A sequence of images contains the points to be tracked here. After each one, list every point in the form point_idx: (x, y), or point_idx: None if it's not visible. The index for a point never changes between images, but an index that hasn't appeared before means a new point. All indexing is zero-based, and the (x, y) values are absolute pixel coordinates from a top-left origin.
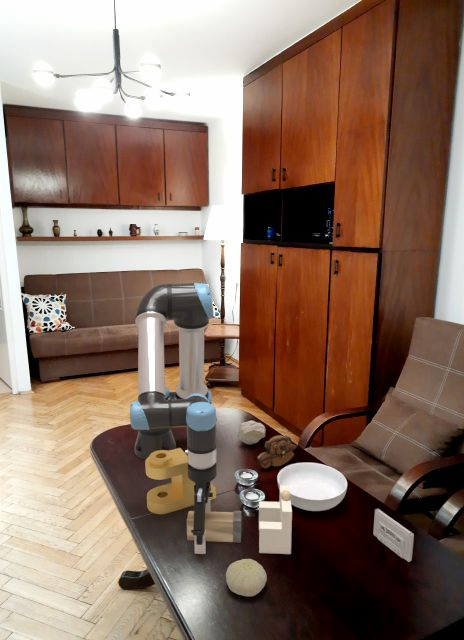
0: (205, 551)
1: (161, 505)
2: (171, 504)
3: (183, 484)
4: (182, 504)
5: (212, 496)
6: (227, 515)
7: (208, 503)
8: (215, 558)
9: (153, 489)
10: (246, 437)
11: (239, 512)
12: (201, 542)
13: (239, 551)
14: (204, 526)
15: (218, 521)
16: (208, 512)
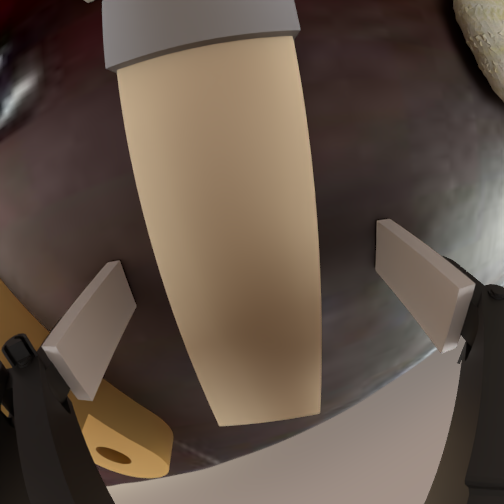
0: (384, 222)
1: (162, 453)
2: (134, 430)
3: None
4: (98, 393)
5: (21, 336)
6: (188, 118)
7: (75, 335)
8: (404, 162)
9: (108, 468)
10: None
11: (127, 6)
12: (456, 267)
13: (337, 41)
14: (488, 309)
15: (313, 197)
16: (192, 324)
